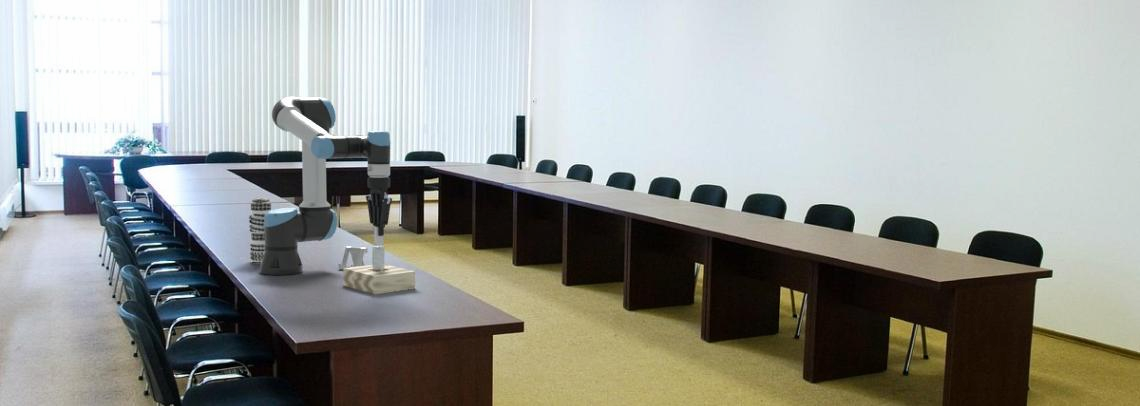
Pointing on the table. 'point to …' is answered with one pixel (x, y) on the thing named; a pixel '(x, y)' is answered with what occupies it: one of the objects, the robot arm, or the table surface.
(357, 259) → the portable electronic device stand
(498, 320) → the table surface
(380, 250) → the steel pin
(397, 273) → the block
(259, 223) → the decorative candle
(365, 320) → the table surface
